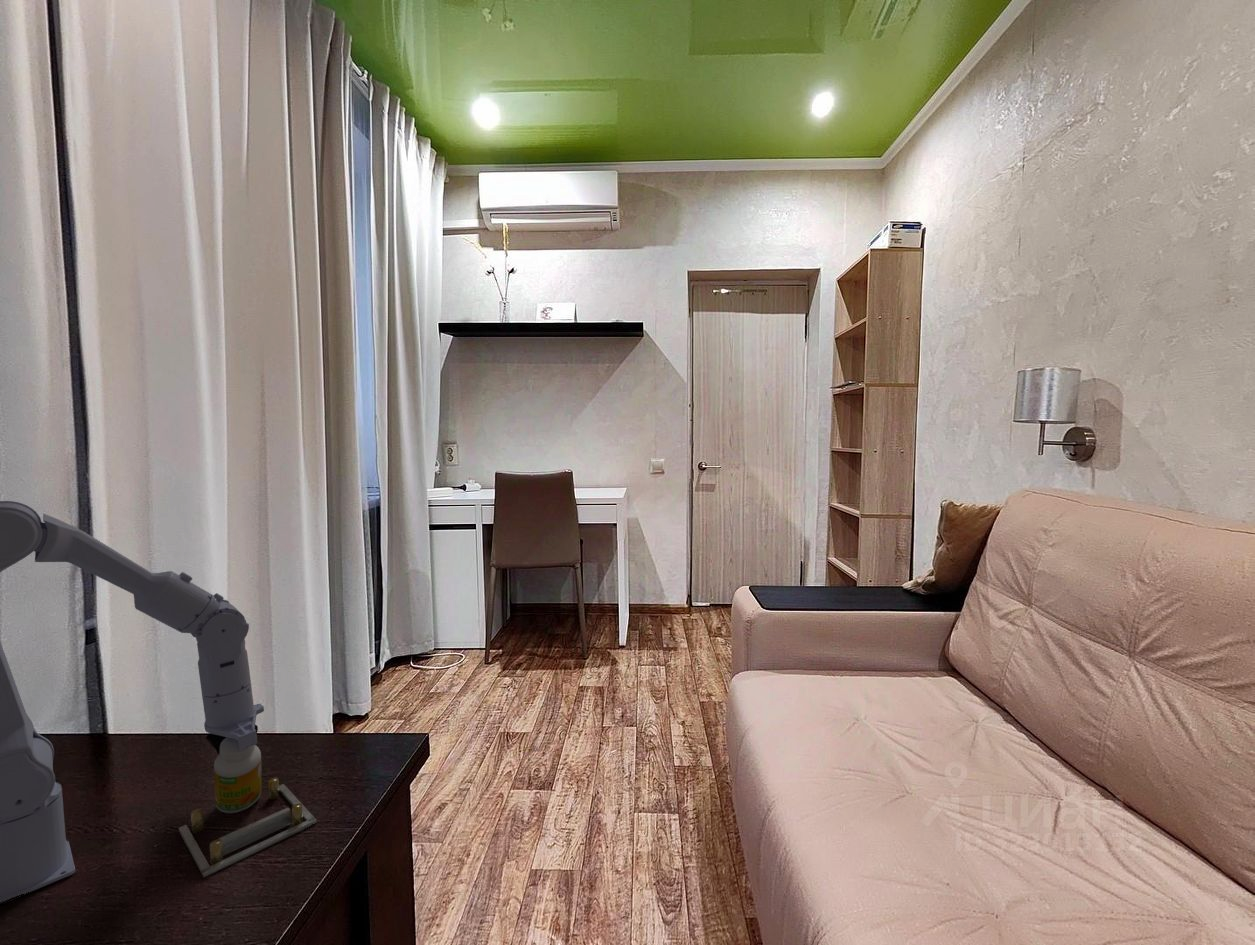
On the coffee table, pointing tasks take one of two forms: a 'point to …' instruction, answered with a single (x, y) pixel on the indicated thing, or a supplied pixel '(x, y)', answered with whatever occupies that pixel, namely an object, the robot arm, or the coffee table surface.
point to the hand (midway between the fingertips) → (238, 777)
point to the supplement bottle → (237, 776)
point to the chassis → (248, 832)
